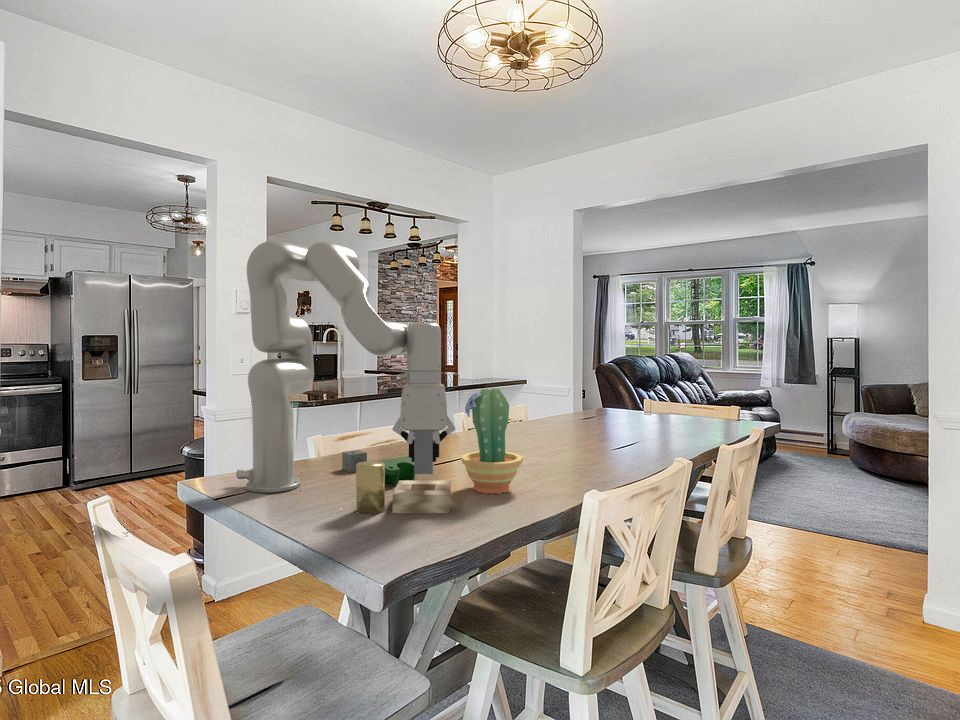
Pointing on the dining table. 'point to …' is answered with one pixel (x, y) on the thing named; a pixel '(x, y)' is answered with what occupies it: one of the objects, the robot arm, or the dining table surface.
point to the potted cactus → (490, 443)
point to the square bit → (423, 452)
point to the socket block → (422, 496)
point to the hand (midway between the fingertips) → (424, 459)
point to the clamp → (398, 469)
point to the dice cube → (352, 459)
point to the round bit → (370, 487)
